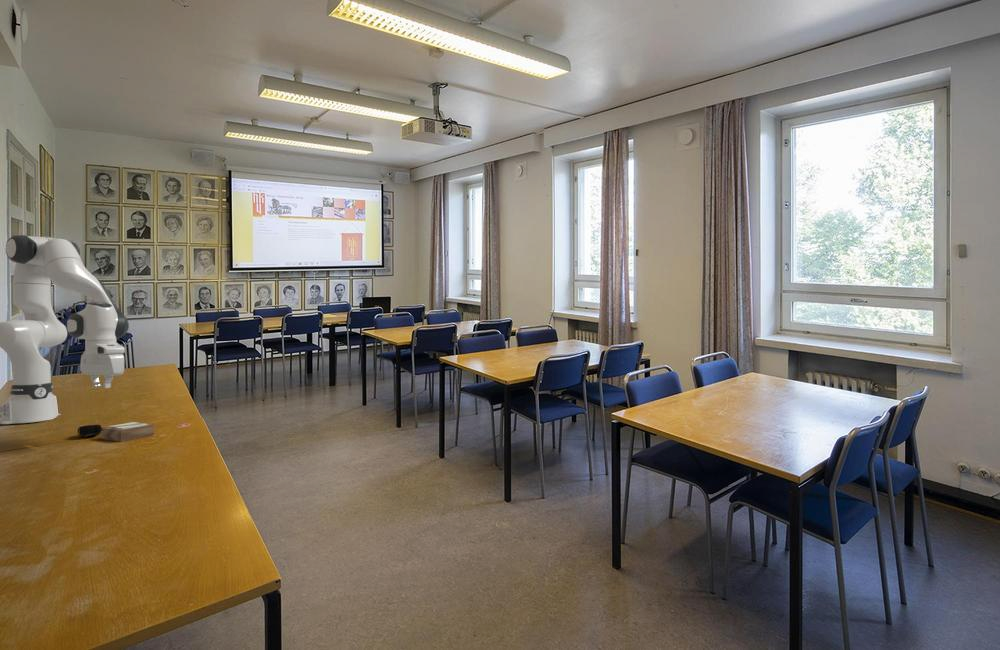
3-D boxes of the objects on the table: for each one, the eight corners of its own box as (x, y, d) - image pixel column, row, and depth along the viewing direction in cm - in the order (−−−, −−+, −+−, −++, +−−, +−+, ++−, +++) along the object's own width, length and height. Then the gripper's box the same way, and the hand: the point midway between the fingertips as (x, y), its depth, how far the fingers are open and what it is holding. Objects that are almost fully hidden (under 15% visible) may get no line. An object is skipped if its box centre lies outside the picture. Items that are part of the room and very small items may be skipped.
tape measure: (101, 433, 186) (100, 423, 187) (76, 437, 182) (76, 426, 183) (103, 434, 192) (102, 424, 192) (79, 438, 188) (78, 427, 188)
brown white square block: (101, 438, 184) (101, 426, 184) (135, 432, 194) (134, 421, 194) (120, 441, 179) (120, 429, 179) (153, 435, 189) (153, 423, 189)
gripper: (74, 348, 189) (74, 387, 189) (108, 349, 180) (108, 389, 180) (94, 347, 194) (94, 385, 194) (127, 348, 185) (128, 387, 186)
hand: (101, 387), depth 187 cm, fingers open, 5 cm apart
